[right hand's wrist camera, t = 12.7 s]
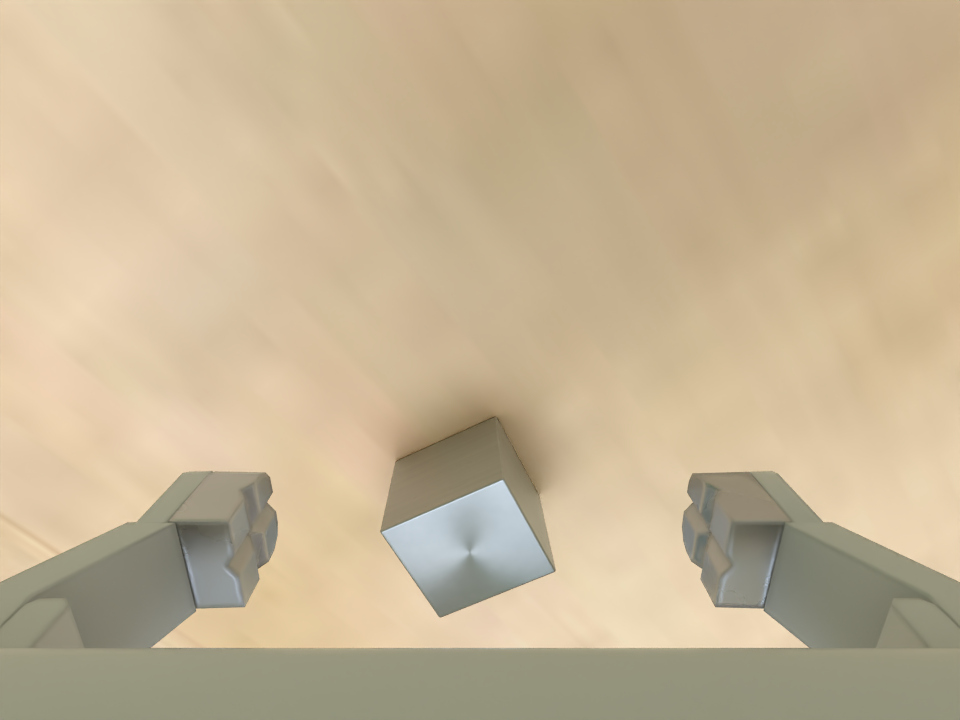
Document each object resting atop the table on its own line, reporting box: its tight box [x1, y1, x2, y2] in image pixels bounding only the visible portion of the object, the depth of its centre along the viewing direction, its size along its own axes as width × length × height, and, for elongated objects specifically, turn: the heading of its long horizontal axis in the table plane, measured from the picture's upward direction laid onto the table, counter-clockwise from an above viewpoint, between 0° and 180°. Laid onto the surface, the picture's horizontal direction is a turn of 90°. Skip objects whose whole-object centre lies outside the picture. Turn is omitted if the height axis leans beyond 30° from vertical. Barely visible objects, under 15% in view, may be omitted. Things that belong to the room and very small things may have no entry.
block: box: [381, 417, 555, 617], centre depth 23 cm, size 5×5×5 cm
